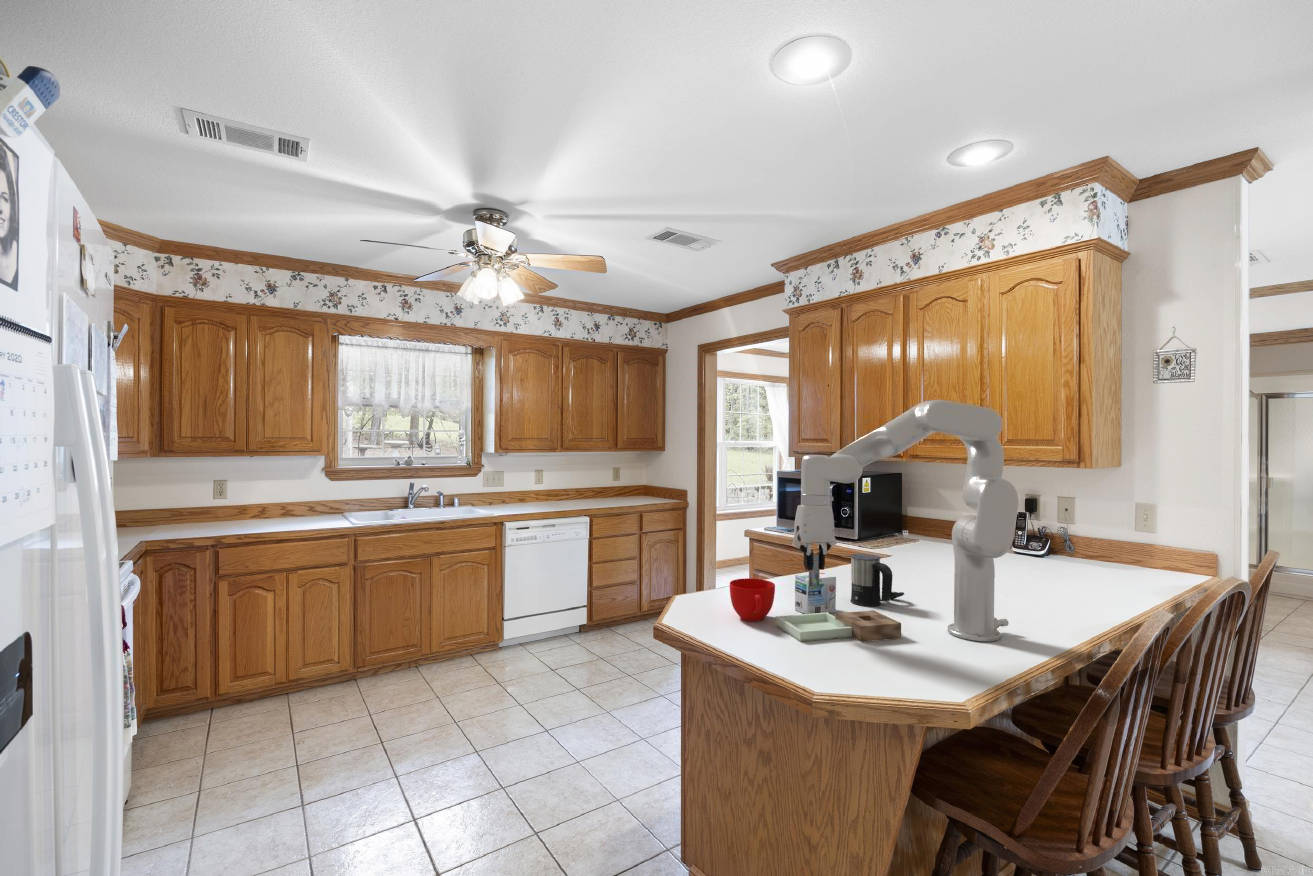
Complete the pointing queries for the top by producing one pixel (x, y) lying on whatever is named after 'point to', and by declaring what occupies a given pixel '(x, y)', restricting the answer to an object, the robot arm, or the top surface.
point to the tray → (813, 626)
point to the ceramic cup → (752, 598)
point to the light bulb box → (815, 594)
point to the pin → (815, 568)
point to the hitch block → (870, 625)
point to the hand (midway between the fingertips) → (814, 568)
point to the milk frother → (870, 580)
